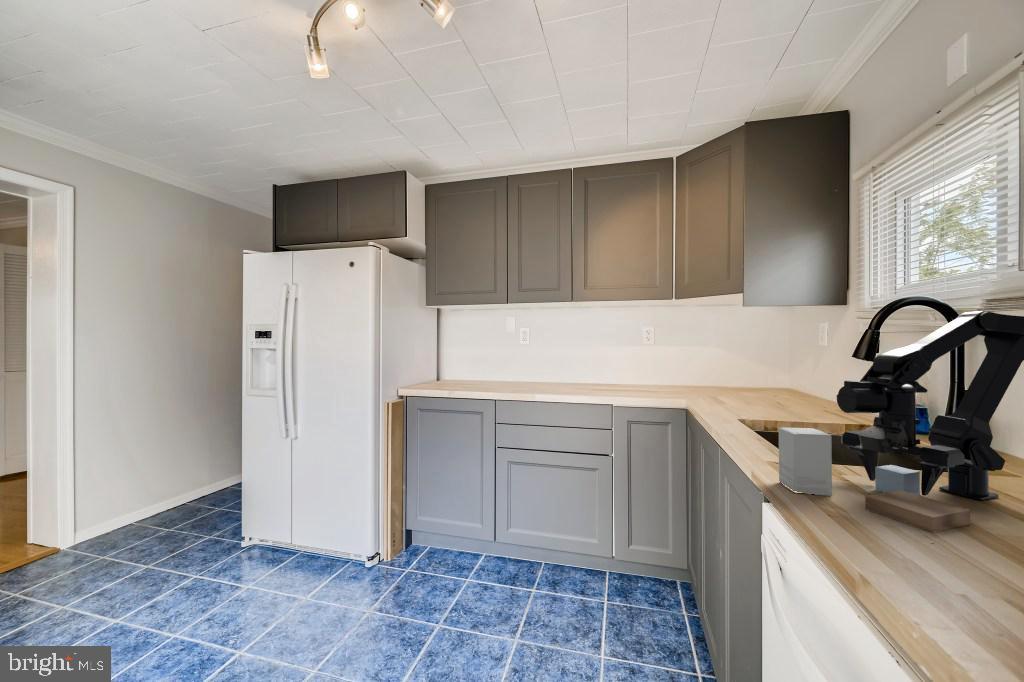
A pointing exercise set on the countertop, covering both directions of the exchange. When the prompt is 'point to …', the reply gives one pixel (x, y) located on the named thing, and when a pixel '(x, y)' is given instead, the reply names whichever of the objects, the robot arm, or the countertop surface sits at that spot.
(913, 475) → the slate block
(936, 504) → the walnut slab
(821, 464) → the supplement box
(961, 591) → the countertop surface
